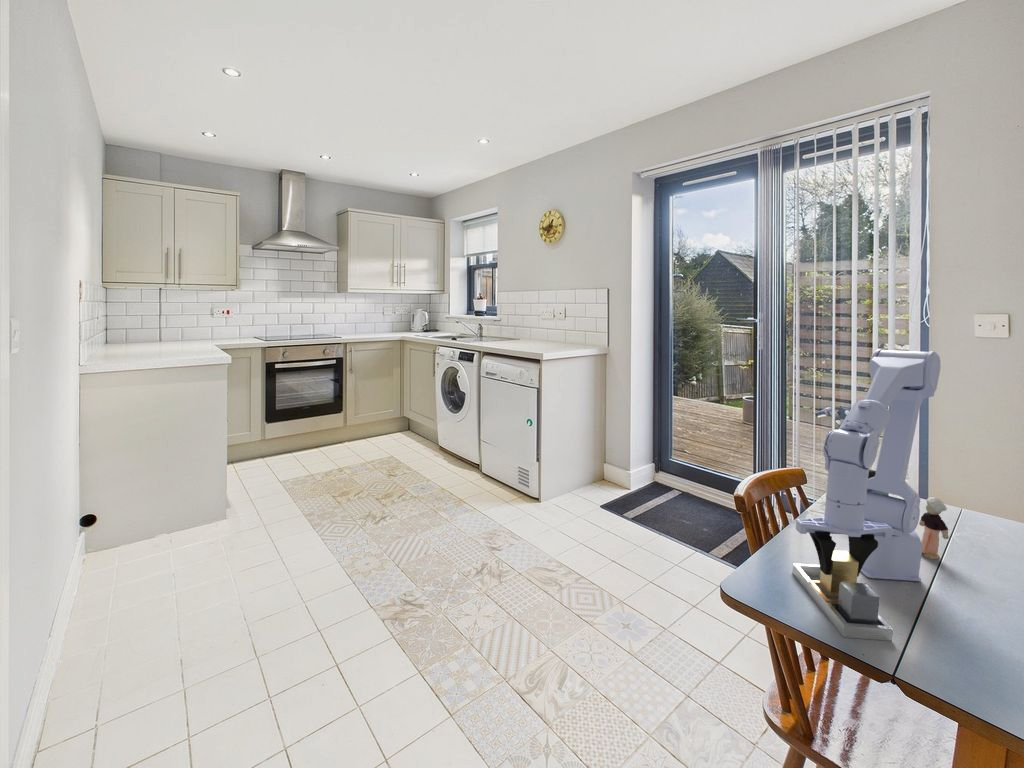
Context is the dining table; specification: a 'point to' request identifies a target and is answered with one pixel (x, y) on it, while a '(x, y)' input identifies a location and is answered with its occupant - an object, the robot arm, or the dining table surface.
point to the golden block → (839, 572)
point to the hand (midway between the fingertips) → (838, 572)
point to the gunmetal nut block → (858, 603)
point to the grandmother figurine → (933, 527)
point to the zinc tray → (830, 607)
